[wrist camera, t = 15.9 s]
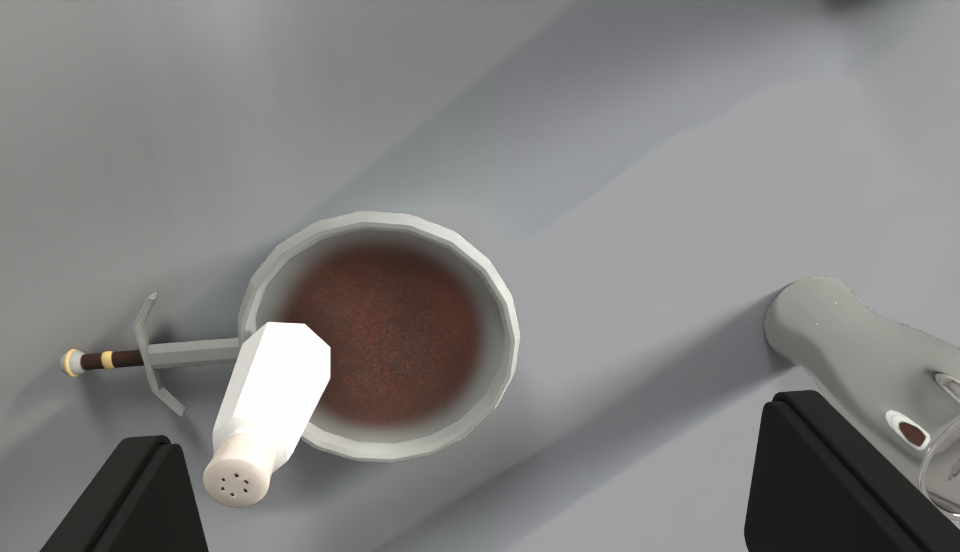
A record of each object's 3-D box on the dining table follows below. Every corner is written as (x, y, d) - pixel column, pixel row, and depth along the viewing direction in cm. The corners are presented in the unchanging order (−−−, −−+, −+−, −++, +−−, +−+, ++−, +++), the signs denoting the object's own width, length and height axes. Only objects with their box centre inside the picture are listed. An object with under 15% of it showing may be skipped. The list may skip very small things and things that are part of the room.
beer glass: (881, 299, 42) (1102, 438, 28) (811, 379, 44) (984, 545, 30) (804, 250, 40) (999, 372, 26) (735, 335, 42) (881, 491, 29)
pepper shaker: (264, 409, 39) (205, 547, 29) (224, 334, 37) (145, 455, 27) (348, 383, 39) (317, 513, 29) (312, 306, 37) (266, 417, 27)
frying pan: (-2, 239, 34) (517, 205, 35) (31, 223, 37) (512, 191, 38) (89, 492, 41) (526, 459, 41) (111, 462, 43) (521, 432, 44)
